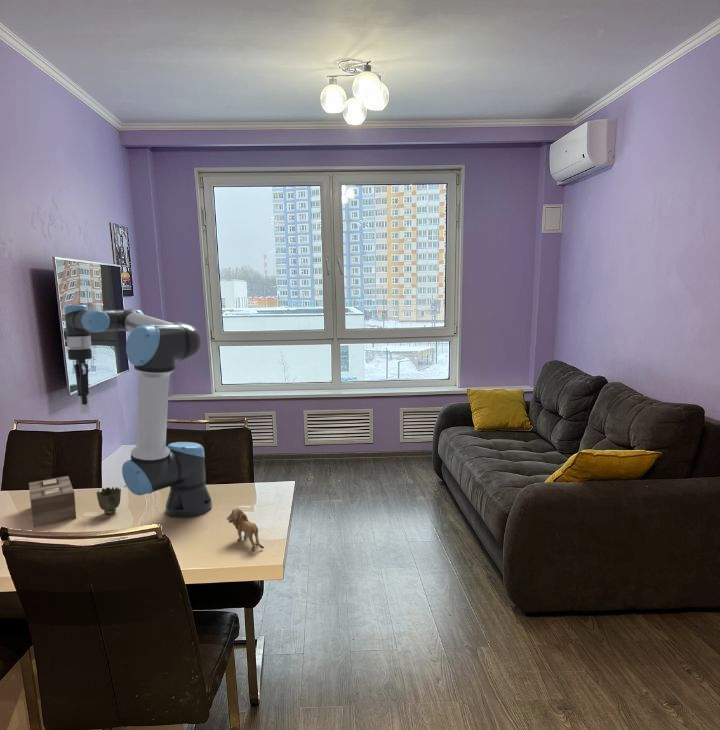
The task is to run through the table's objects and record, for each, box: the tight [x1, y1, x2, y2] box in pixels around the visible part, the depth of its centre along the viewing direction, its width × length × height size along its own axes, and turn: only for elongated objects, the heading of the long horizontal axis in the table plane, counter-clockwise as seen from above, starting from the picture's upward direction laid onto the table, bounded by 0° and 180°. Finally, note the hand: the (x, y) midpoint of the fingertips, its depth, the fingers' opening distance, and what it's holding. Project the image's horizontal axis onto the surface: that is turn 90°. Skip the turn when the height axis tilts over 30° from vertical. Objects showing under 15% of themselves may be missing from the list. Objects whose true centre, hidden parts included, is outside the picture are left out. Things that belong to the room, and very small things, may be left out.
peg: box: [43, 478, 57, 486], centre depth 179 cm, size 4×4×8 cm
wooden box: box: [28, 475, 77, 528], centre depth 175 cm, size 20×12×9 cm, turn 34°
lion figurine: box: [226, 508, 265, 551], centre depth 152 cm, size 15×5×9 cm, turn 51°
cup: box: [95, 486, 122, 516], centre depth 174 cm, size 8×7×8 cm
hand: (84, 412), depth 188 cm, fingers closed
